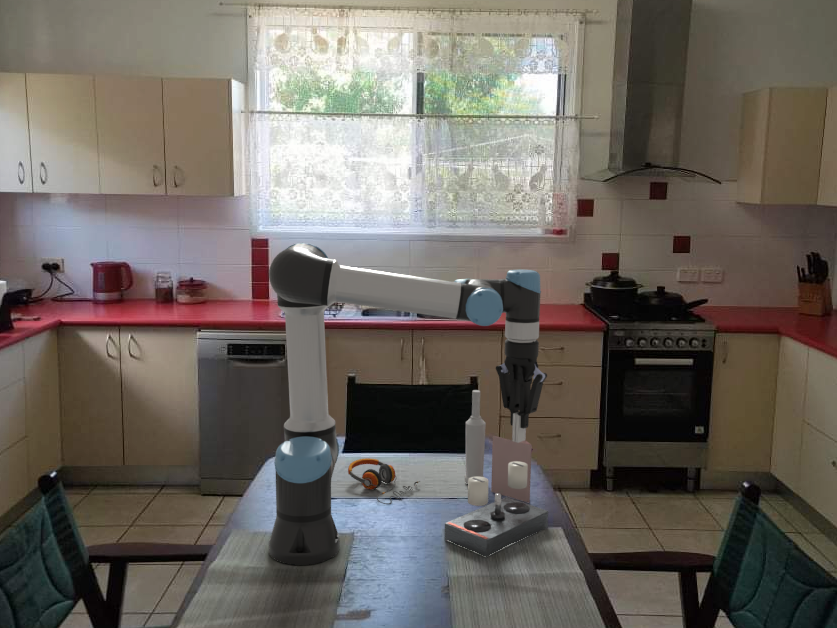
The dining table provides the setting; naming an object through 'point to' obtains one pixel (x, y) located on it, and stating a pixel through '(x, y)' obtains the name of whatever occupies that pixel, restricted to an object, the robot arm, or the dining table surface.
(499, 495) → the potentiometer stem
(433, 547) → the dining table surface
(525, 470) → the knob far
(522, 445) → the greeting card
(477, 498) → the knob near
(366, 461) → the headphones
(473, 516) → the mount
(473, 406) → the bottle
